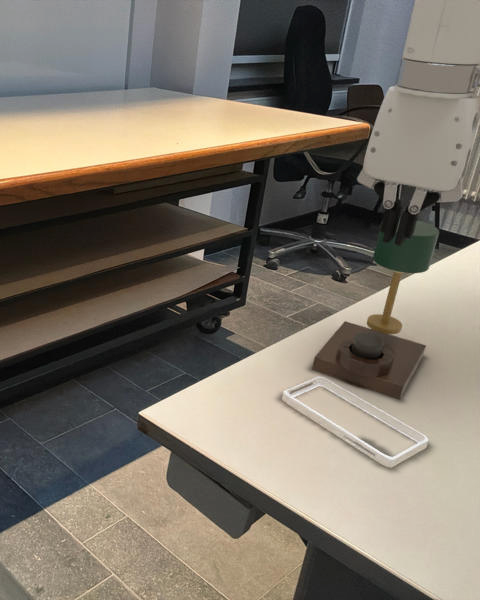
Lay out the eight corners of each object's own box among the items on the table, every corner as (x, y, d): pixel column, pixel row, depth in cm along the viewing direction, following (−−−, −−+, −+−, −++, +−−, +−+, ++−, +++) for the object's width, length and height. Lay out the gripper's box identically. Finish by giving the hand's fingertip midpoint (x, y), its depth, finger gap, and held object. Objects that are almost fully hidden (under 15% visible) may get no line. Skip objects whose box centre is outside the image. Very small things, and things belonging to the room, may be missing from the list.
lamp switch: (383, 352, 87) (387, 338, 86) (376, 363, 84) (380, 349, 83) (355, 343, 89) (358, 329, 88) (347, 354, 86) (350, 340, 85)
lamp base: (422, 359, 93) (429, 333, 91) (397, 404, 83) (405, 376, 81) (341, 334, 99) (347, 309, 97) (309, 373, 88) (315, 347, 87)
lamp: (415, 325, 93) (444, 225, 87) (403, 344, 88) (433, 240, 82) (365, 310, 97) (388, 214, 90) (351, 328, 92) (375, 227, 85)
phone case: (428, 448, 75) (318, 383, 86) (431, 438, 75) (320, 374, 86) (388, 470, 71) (279, 400, 83) (391, 460, 71) (281, 391, 82)
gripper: (521, 83, 70) (470, 247, 78) (371, 68, 78) (339, 218, 86) (513, 91, 65) (459, 267, 73) (352, 74, 73) (320, 234, 81)
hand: (394, 240), depth 80 cm, fingers closed
